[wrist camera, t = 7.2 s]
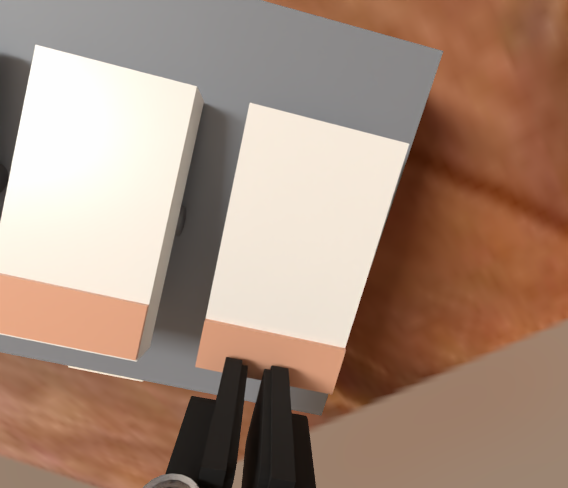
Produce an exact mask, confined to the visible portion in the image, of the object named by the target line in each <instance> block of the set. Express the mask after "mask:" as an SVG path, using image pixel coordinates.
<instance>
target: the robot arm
mask: <svg viewBox="0 0 568 488" xmlns="http://www.w3.org/2000/svg"><path fill="white" fill-rule="evenodd" d="M247 371H248V366H247V365H242V360H240V359H235V358H230V357H226V359H225V363H224V368H223V372H222V376H221V381H220V385H219V390H218V394H217V398H216V400H212V399H206V398H200V397H195V396H191V399H190V401H189V404H188V407H187V410H186V413H185V416H184V419H183V422H182V425H181V429H180V432H179V435H178V438H177V441H176V444H175V447H174V450H173V453H172V456H171V459H170V462H169V465H168V468H167V471H166V474H165V475H161V476H159V477H157V478H154V479H152V480H151V481H150V482H149V483H147V484H146V485H145V486H144V487H143V488H232V484H233V480H234V475H235V470H236V464H237V456H238V448H239V439H240V431H241V422H242V414H243V405H244V397H245V388H246V380H247ZM242 488H316V484H315V475H314V468H313V459H312V451H311V443H310V434H309V426H308V419H307V417H306V416H303V415H298V414H292V413H291V397H290V381H289V369H288V368H284V367H278V366H273V365H272V366H271V368H270V370H269V369H264V372H263V376H262V380H261V384H260V388H259V392H258V396H257V400H256V404H255V408H254V412H253V415H252V419H251V423H250V427H249V431H248V436H247V440H246V447H245V457H244V467H243V479H242Z"/></svg>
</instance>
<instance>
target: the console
mask: <svg viewBox="0 0 568 488" xmlns="http://www.w3.org/2000/svg"><path fill="white" fill-rule="evenodd" d="M35 45H39V46H43V47H47V48H51V49H55V50H58V51H62V52H66V53H70V54H74V55H78V56H82V57H85V58H89V59H93V60H97V61H101V62H105V63H109V64H113V65H116V66H120V67H124V68H128V69H132V70H136V71H140V72H143V73H147V74H151V75H155V76H159V77H163V78H167V79H170V80H174V81H178V82H182V83H186V84H190V85H194V86H197V88H198V90H199V92H200V94H201V96H202V98H203V100H204V104H203V109H202V113H201V118H200V122H199V127H198V131H197V136H196V140H195V145H194V150H193V154H192V159H191V163H190V168H189V172H188V177H187V181H186V186H185V190H184V195H183V199H182V204H181V208H180V213H179V218H178V222H177V227H176V231H175V236H174V240H173V245H172V249H171V254H170V258H169V263H168V267H167V272H166V277H165V281H164V286H163V290H162V295H161V299H160V304H159V308H158V313H157V317H156V322H155V326H154V331H153V336H152V340H151V345H150V348H149V349H148V350H147V351H146V352H145V353H144V354H143V355H142V356H141V357H140V359H139V360H138V361H137V362H135V361H130V360H125V359H120V358H115V357H110V356H105V355H100V354H95V353H90V352H86V351H81V350H76V349H71V348H66V347H61V346H56V345H51V344H46V343H41V342H36V341H31V340H26V339H21V338H16V337H11V336H6V335H1V334H0V352H2V353H7V354H12V355H17V356H22V357H28V358H33V359H38V360H43V361H48V362H53V363H58V364H63V365H68V367H70V368H75V369H80V370H85V371H90V372H95V373H101V374H106V375H111V376H116V377H121V378H126V379H131V380H136V381H141V382H143V380H144V381H149V382H154V383H159V384H164V385H169V386H174V387H179V388H184V389H190V390H195V391H200V392H205V393H210V394H215V395H217V394H218V390H219V385H220V381H221V376H222V372H217V371H212V370H207V369H202V368H198V367H195V365H196V360H197V355H198V350H199V345H200V340H201V335H202V330H203V326H204V321H205V319H206V314H207V309H208V304H209V299H210V294H211V289H212V284H213V279H214V275H215V270H216V265H217V260H218V255H219V250H220V245H221V240H222V235H223V231H224V226H225V221H226V216H227V211H228V206H229V201H230V196H231V191H232V187H233V182H234V177H235V172H236V167H237V162H238V157H239V152H240V147H241V143H242V138H243V133H244V128H245V123H246V118H247V113H248V108H249V104H250V103H254V104H257V105H261V106H265V107H269V108H273V109H277V110H281V111H285V112H288V113H292V114H296V115H300V116H304V117H308V118H312V119H315V120H319V121H323V122H327V123H331V124H335V125H339V126H343V127H346V128H350V129H354V130H358V131H362V132H366V133H370V134H374V135H377V136H381V137H385V138H389V139H393V140H397V141H401V142H405V143H408V144H409V147H408V150H407V153H406V156H405V159H404V163H403V166H402V169H401V172H400V175H399V178H398V182H397V185H396V188H395V191H394V194H393V197H392V201H391V204H390V207H389V210H388V213H387V217H386V220H385V223H384V226H383V229H382V232H381V236H382V233H383V230H384V227H385V224H386V221H387V218H388V215H389V212H390V209H391V206H392V203H393V200H394V197H395V194H396V191H397V188H398V185H399V182H400V179H401V176H402V173H403V170H404V167H405V164H406V161H407V158H408V155H409V152H410V149H411V146H412V143H413V140H414V137H415V134H416V131H417V128H418V125H419V122H420V119H421V116H422V113H423V110H424V107H425V104H426V101H427V98H428V95H429V92H430V89H431V86H432V83H433V80H434V77H435V74H436V71H437V68H438V65H439V62H440V59H441V56H442V53H443V51H441V50H437V49H434V48H430V47H426V46H423V45H419V44H416V43H412V42H409V41H405V40H401V39H398V38H394V37H391V36H387V35H384V34H380V33H376V32H373V31H369V30H366V29H362V28H359V27H355V26H351V25H348V24H344V23H341V22H337V21H334V20H330V19H326V18H323V17H319V16H316V15H312V14H308V13H305V12H301V11H298V10H294V9H291V8H287V7H283V6H280V5H276V4H273V3H269V2H266V1H262V0H0V221H1V216H2V211H3V206H4V201H5V196H6V191H7V186H8V181H9V176H10V171H11V165H12V160H13V155H14V150H15V145H16V140H17V135H18V130H19V125H20V120H21V115H22V110H23V105H24V100H25V95H26V90H27V85H28V80H29V75H30V70H31V65H32V60H33V55H34V49H35ZM381 236H380V239H381ZM380 239H379V242H380ZM379 242H378V245H379ZM378 245H377V248H378ZM377 248H376V251H377ZM375 254H376V252H375ZM374 257H375V255H374ZM373 260H374V258H373ZM372 263H373V261H372ZM371 266H372V264H371ZM370 269H371V267H370ZM369 272H370V271H369ZM260 384H261V380H257V379H252V378H247V380H246V388H245V397H244V400H245V401H250V402H255V403H256V400H257V396H258V392H259V388H260ZM290 397H291V410H296V411H301V412H306V413H311V414H316V415H322V412H323V409H324V406H325V403H326V400H327V397H328V394H326V393H321V392H316V391H311V390H306V389H301V388H296V387H291V386H290Z"/></svg>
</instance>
